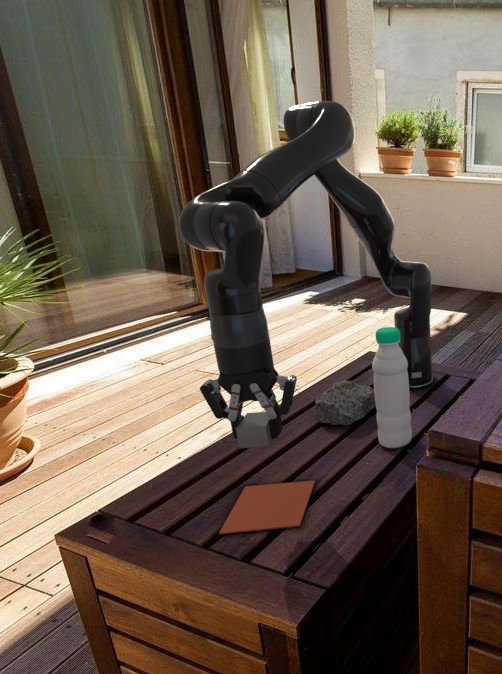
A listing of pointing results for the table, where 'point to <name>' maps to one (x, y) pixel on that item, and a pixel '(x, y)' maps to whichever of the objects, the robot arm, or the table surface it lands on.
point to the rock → (344, 403)
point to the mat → (269, 507)
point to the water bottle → (391, 390)
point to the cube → (254, 430)
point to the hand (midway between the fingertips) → (259, 437)
